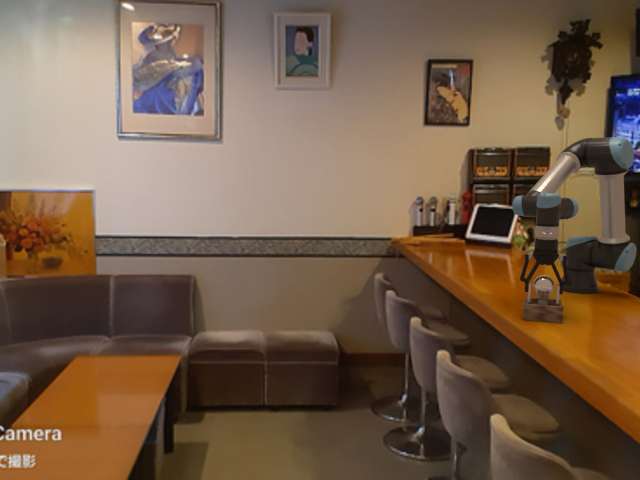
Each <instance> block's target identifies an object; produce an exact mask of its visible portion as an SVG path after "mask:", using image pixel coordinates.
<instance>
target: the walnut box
mask: <svg viewBox="0 0 640 480" xmlns="http://www.w3.org/2000/svg"><path fill="white" fill-rule="evenodd" d="M547 305H548V306H547ZM547 305H538V299H537V297H532V296H530V302H528V296H523V306H522V307H523V308H522V314H523V321H527V322H528V320H529V322H539V321H541V322H540V323H553V324H563V321H564V305H563V302H562V299H560V298H559V304H556V298H549V299H548V304H547Z"/></svg>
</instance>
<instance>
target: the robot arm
mask: <svg viewBox="0 0 640 480" xmlns="http://www.w3.org/2000/svg"><path fill="white" fill-rule="evenodd" d="M634 153H635V152H634V147H633V144H632V143H631V141H630V140H629V139H627V138H626V137H616V136H610V137H607V136H606V137H587V138H582V139H580V140H577V141H575V142H573V143H571V144H570V145H568V146H566V147H565V148H564V149H563V150H562V151H561V152H560V153H559V154H558V155H557V157H556V160H555V162H554V163H553V165H552V166H551V167H550V168H549V169H548V170H547V171H546V172H545V174H543V176H541V178H540V179H539V180H538V181H537V182H536V183H535V185H534V186H532V188H531V189H530V190H529V191H528V192H527V193H526V195H518V196H515V197H514V199H513V201H512V204H511V208H512V211H513V213H514V215H516V216H521V217H528V218H535V220H536V221H535V231H534V232H535V233H534V236H535V239H534V247H533V248H534V249H533V252H530V253H528V252H525V253H524V263H523V265H522V269H521V273H520V277H519V280H520V282H523V283H524V293H527V297H528V302H530V297H531V293H532V290H531V289H532V282H530V281H531V279H532V278H533V276H534V274H535V273H536V271H537V270H538V268H539V266H545V265H546V266H551V268H552V271H553V272H554V275H555V276H556V279H557V282H558V284H556V293H555V299H556V304H559V299H560V295H561V296H562V295H563V293H564V292H570V293H573V294H574V293H575V294H595V293H598V292H599V284H598V280H597V276H596V269H602V270H607V271H614V272H627V271H629V270H630V269H631V268H632V266H633V264H634V263H635V259H636V256H637V246H636V244H635V243H633V242H631V237H630V236H629V235H628V234H627V233H626V213H625V212H626V209H625V207H626V205H625V181H624V180H625V179H624V176H625V175H626V174H627V173H628V172H629V170H628V169H629V168H631V167H632V166H633V164H634V158H635V154H634ZM585 168H587V169H588V168H589V169H594V175H595V176H596V177H598V180H599V181H598V182H599V183H598V185H599V204H600V207H599V208H600V224H601V225H600V227H601V234H600V235H599V236H597V235H579V236H578V235H577V236H571V237H568V238H567V240H566V246H565V254H559V253H558V251H559V240H558V239H557V238H559V234H560V233H559V232H560V221H561V220H568V219H569V220H570V219H573V218H574V217H576V216H577V214H578V213H579V209H580V208H579V203H578V201H577V200H575V199H574V198H571V197H561V194H560V193H558V192H557V191H558V190H559V189H560V188H561V187H562V185H563V184H564V183H565V182H566V181H567V180H568V179H569V178H570V177H571V175H572V174H575V173H577V172H578V171H579V170H580V169H585ZM532 257H533V258H534V260H535V262H534V264H533V266H532V268H531V269H530V271H529V272H528V275H527V276H526V273H527V269H528V265H529V263H530V260H531V259H532ZM558 258H559V261H560V262H561V266H562V273H563V274H562V277H561V275H560V273H559V271H558V269H557V266H556V264H555V262H556V260H557V259H558Z"/></svg>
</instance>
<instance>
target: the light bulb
mask: <svg viewBox="0 0 640 480" xmlns="http://www.w3.org/2000/svg"><path fill="white" fill-rule="evenodd" d="M532 287H533V290H534V292H535V294H536V298H537V299H538V305H547V304H548V299H550V296H551V294H553V291H554V290H555V281H554V280H553V278H551V277H550V276H549V275H546V274H541V275H538V276H537V277H536V278H534V280H533V283H532ZM547 306H548V305H547Z"/></svg>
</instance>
